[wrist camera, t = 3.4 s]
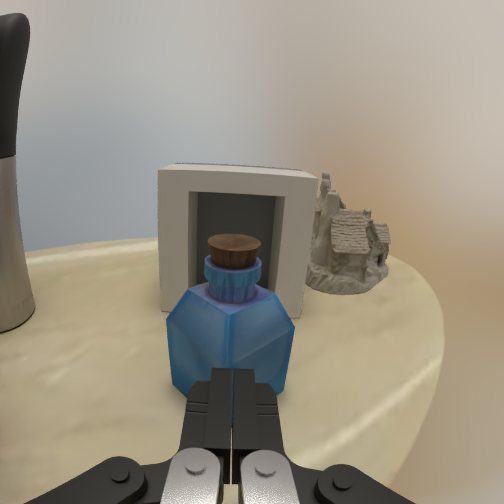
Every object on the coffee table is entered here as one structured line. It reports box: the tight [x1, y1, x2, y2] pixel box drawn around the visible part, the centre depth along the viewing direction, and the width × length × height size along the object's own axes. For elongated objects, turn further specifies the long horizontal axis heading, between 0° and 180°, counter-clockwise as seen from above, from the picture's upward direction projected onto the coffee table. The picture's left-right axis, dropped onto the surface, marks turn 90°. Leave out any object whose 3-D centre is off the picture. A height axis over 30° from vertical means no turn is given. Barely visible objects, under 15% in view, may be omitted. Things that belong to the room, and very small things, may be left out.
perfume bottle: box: [166, 234, 295, 427], centre depth 20 cm, size 6×6×12 cm
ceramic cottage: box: [305, 173, 391, 295], centre depth 45 cm, size 16×16×15 cm
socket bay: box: [158, 163, 318, 318], centre depth 35 cm, size 15×9×15 cm, turn 92°
